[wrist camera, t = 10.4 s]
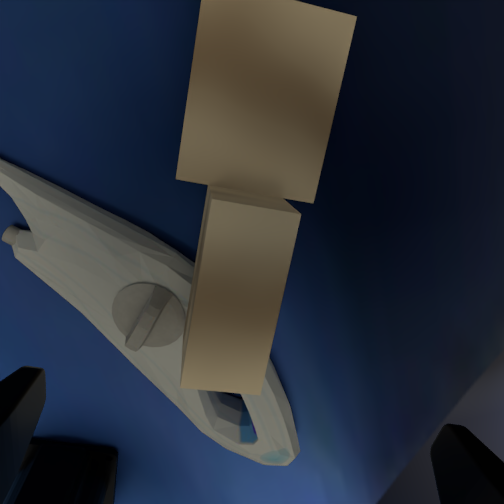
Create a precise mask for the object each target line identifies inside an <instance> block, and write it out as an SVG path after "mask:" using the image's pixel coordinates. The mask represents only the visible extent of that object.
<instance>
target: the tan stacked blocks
mask: <svg viewBox="0 0 504 504" xmlns="http://www.w3.org/2000/svg"><path fill="white" fill-rule="evenodd" d="M356 18H357V16H353V15H349V14H345V13H341V12H338V11H334V10H330V9H326V8H322V7H318V6H314V5H311V4H307V3H303V2H299V1H295V0H201V7H200V13H199V20H198V27H197V34H196V41H195V48H194V55H193V62H192V69H191V76H190V83H189V90H188V97H187V103H186V110H185V117H184V124H183V131H182V138H181V145H180V152H179V159H178V166H177V173H176V179H177V180H183V181H188V182H194V183H200V184H206V185H208V188H207V194H206V200H205V206H204V212H203V218H202V224H201V230H200V236H199V242H198V248H197V255H196V261H195V267H194V273H193V279H192V285H191V291H190V297H189V303H188V309H187V315H186V321H185V327H184V333H183V346H182V363H181V380H180V388H186V389H196V390H207V391H218V392H229V393H240V394H250V395H261V390H262V386H263V381H264V377H265V373H266V368H267V364H268V359H269V355H270V351H271V346H272V342H273V337H274V333H275V328H276V324H277V320H278V315H279V311H280V306H281V302H282V298H283V293H284V289H285V284H286V280H287V276H288V271H289V267H290V262H291V258H292V253H293V249H294V245H295V240H296V236H297V231H298V227H299V223H300V218H301V213H299V212H298V211H297V210H296V209H295V208H294V207H292V206H291V205H290V204H289V203H288V202H287V201H286V200H284V199H283V198H285V199H291V200H296V201H302V202H308V203H314V199H315V195H316V190H317V186H318V182H319V177H320V173H321V169H322V164H323V160H324V156H325V152H326V147H327V143H328V139H329V134H330V130H331V126H332V121H333V117H334V113H335V109H336V104H337V100H338V96H339V91H340V87H341V83H342V78H343V74H344V70H345V66H346V61H347V57H348V53H349V48H350V44H351V40H352V35H353V31H354V27H355V23H356Z"/></svg>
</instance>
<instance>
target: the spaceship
mask: <svg viewBox="0 0 504 504" xmlns="http://www.w3.org/2000/svg"><path fill="white" fill-rule="evenodd" d="M0 186H1V187H2V188H3V189H4V190H5V191H6V192H7V193H8V194H9V195H10V196H11V197H12V199H13V200H14V202H15V204H16V205H17V207H18V208H19V210H20V211H21V213H22V214H23V216H24V218H25V219H26V221H27V223H28V225H29V227H30V229H31V230H21V229H19V228H17V227H15V226H13V225H11V226H9V227H8V228H7V229H6V230H5V232H4V233H3V236H2V241H4V242H6V243H8V244H10V245H12V248H13V251H14V255H15V258H16V259H18V260H19V261H20V262H21V263H22V264H24V265H25V266H26V267H27V268H28V269H30V270H31V271H32V272H33V273H34V274H36V275H37V276H38V277H39V278H40V279H42V280H43V281H44V282H45V283H46V284H48V285H49V286H50V287H51V288H52V289H54V290H55V291H56V292H57V293H58V294H60V295H61V296H62V297H63V298H65V299H66V300H67V301H68V302H69V303H71V304H72V305H73V306H74V307H75V308H77V309H78V310H79V311H80V312H81V313H82V314H83V315H84V316H85V317H86V318H87V319H88V320H89V321H90V322H91V323H92V324H93V325H94V326H95V327H96V328H97V329H98V330H99V331H100V332H101V333H102V334H103V335H104V336H105V337H106V338H107V339H108V340H109V341H110V342H111V343H112V344H113V345H114V346H115V347H116V348H117V349H118V350H119V351H120V352H121V353H122V354H123V355H124V356H125V357H126V358H127V359H128V360H129V361H130V362H131V363H132V364H133V365H134V366H135V367H137V368H138V369H139V370H140V371H141V372H142V373H143V374H144V375H145V376H146V377H147V378H148V379H149V380H150V381H151V382H152V383H153V384H154V385H155V386H156V387H157V388H158V389H160V390H161V391H162V392H163V393H164V394H165V395H166V396H167V397H168V398H169V399H170V400H171V401H172V402H173V403H174V404H175V405H176V406H177V407H178V408H179V409H180V410H181V411H182V412H183V413H184V414H185V415H186V416H187V417H188V418H189V419H190V420H191V421H192V422H193V423H194V424H195V425H196V426H197V428H198V429H199V430H200V431H201V432H203V433H204V434H206V435H207V436H208V437H210V438H211V439H213V440H214V441H216V442H217V443H219V444H220V445H221V446H223V447H224V448H226V449H228V450H230V451H233V452H235V453H237V454H240V455H242V456H244V457H247V458H249V459H252V460H254V461H256V462H259V463H261V464H263V465H280V466H287V465H288V464H289V463H290V462H292V461H293V460H294V459H295V458H296V456H297V455H298V453H299V452H300V448H299V443H298V438H297V433H296V429H295V424H294V420H293V416H292V411H291V407H290V404H289V401H288V399H287V397H286V394H285V392H284V389H283V387H282V385H281V382H280V380H279V377H278V375H277V373H276V370H275V368H274V366H273V364H272V362H271V360H270V358H269V359H268V364H267V368H266V373H265V377H264V381H263V386H262V390H261V395H250V394H241V396H242V398H243V399H239V398H236V397H233V396H230V395H227V394H225V393H223V392H218V391H207V390H196V389H186V388H180V380H181V363H182V346H183V333H184V327H185V321H186V315H187V309H188V303H189V297H190V291H191V285H192V279H193V273H194V267H195V263H194V262H192V261H191V260H189V259H188V258H187V257H185V256H184V255H183V254H181V253H180V252H178V251H177V250H176V249H174V248H172V247H171V246H169V245H168V244H166V243H164V242H163V241H161V240H159V239H158V238H156V237H155V236H153V235H152V234H151V233H149V232H147V231H145V230H143V229H141V228H140V227H138V226H136V225H134V224H132V223H130V222H128V221H126V220H125V219H122V218H120V217H118V216H116V215H114V214H112V213H110V212H108V211H106V210H104V209H102V208H99V207H98V206H96V205H94V204H92V203H90V202H88V201H86V200H84V199H82V198H80V197H79V196H77V195H75V194H73V193H71V192H69V191H67V190H65V189H63V188H61V187H59V186H57V185H55V184H53V183H51V182H49V181H47V180H45V179H43V178H41V177H39V176H37V175H35V174H33V173H31V172H29V171H27V170H25V169H23V168H20V167H18V166H16V165H14V164H11V163H9V162H7V161H5V160H3V159H0Z"/></svg>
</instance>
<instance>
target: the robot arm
mask: <svg viewBox="0 0 504 504" xmlns="http://www.w3.org/2000/svg"><path fill="white" fill-rule="evenodd" d="M45 400H46V381H45V371H44V369H43V368H39V367H32V366H23V367H21V368H19V369H18V370H16V371H15V372H13V373H12V374H10V375H9V376H7V377H6V378H5V379H3V380H2V381H0V504H114V496H115V485H116V474H117V462H118V451H117V450H115V449H113V448H108V447H100V446H91V445H83V444H74V443H66V442H57V441H49V440H40V439H32V435H33V433H34V430H35V428H36V425H37V423H38V420H39V417H40V415H41V412H42V410H43V407H44V404H45ZM430 455H431V461H432V466H433V471H434V475H435V480H436V485H437V490H438V495H439V499H440V504H504V462H503V461H502V460H501V459H499V458H498V457H497V456H496V455H495V454H494V453H493V452H492V451H491V450H490V449H489V448H488V447H487V446H485V445H484V444H483V443H482V442H481V441H480V440H479V439H478V438H477V437H476V436H474V434H473V433H471V432H470V431H469V430H468V429H467V428H466V427H464V426H461V425H455V424H446V425H444V426H443V427H442V429H441V431H440V432H439V434H438V436H437V437H436V439H435V441H434V442H433V444H432V446H431V451H430Z"/></svg>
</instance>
